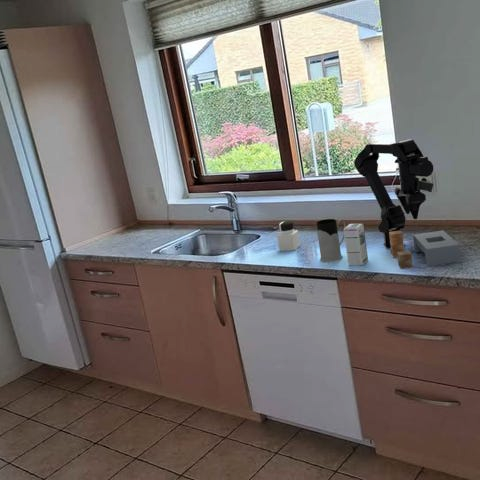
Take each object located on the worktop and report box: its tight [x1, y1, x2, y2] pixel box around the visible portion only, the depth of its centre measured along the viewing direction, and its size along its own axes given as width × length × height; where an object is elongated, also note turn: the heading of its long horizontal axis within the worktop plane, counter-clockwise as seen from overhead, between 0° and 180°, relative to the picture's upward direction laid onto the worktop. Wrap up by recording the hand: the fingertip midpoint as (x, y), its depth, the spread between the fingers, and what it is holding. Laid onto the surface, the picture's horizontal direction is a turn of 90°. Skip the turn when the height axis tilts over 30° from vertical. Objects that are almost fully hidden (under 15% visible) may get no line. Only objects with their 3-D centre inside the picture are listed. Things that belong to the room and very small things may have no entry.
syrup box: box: [343, 222, 369, 266], centre depth 208 cm, size 6×6×14 cm
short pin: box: [397, 249, 413, 270], centre depth 197 cm, size 4×4×5 cm
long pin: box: [389, 229, 405, 259], centre depth 209 cm, size 4×4×9 cm
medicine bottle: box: [276, 220, 301, 252], centre depth 243 cm, size 7×7×12 cm
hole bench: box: [412, 230, 462, 267], centre depth 202 cm, size 11×20×6 cm, turn 176°
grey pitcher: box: [316, 218, 347, 263], centre depth 220 cm, size 9×14×15 cm, turn 126°
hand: (411, 216), depth 209 cm, fingers open, 9 cm apart
